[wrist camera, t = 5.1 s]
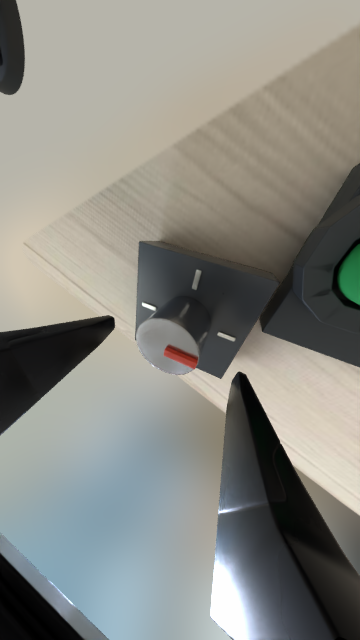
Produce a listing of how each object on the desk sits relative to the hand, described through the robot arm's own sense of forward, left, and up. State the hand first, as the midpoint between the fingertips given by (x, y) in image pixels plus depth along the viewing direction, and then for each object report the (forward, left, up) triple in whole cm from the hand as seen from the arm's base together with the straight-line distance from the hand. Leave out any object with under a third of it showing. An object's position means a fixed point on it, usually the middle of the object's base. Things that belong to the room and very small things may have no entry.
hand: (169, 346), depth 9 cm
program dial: (0, 0, -4) cm, 4 cm away
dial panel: (0, 0, -7) cm, 7 cm away
